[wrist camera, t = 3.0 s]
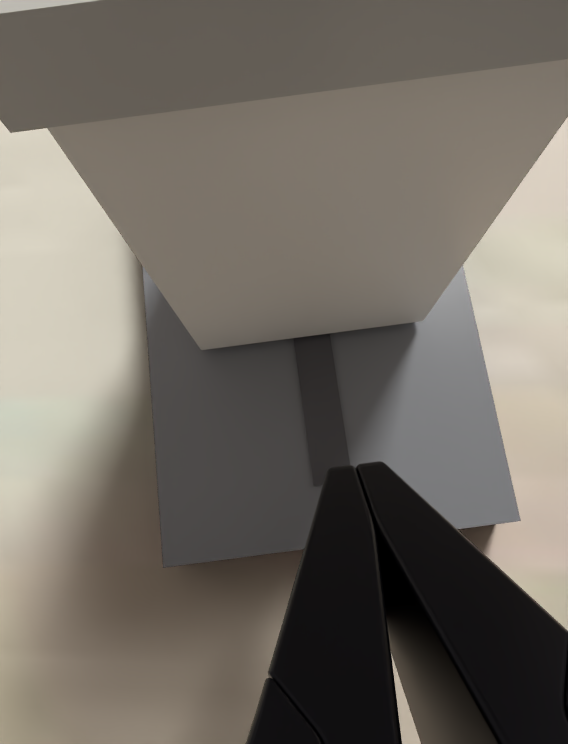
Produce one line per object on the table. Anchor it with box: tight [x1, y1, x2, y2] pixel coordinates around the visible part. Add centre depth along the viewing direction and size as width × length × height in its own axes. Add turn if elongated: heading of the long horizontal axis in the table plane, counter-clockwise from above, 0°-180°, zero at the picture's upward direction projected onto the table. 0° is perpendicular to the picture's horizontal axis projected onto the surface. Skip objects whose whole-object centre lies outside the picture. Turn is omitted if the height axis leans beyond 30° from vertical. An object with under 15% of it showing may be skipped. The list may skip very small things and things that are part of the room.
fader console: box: [142, 265, 521, 568], centre depth 16 cm, size 20×9×2 cm, turn 7°
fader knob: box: [0, 0, 568, 350], centre depth 9 cm, size 5×6×10 cm
